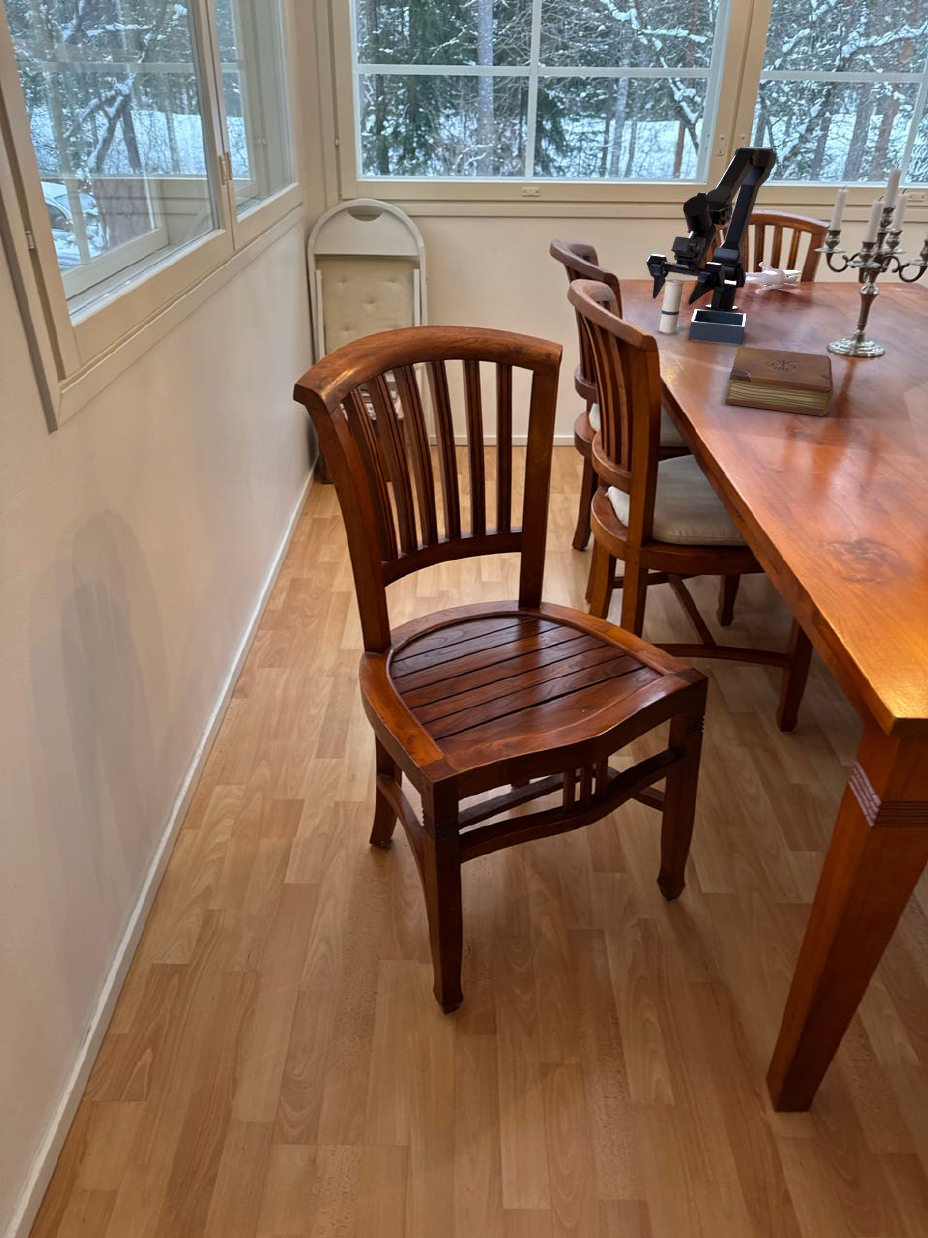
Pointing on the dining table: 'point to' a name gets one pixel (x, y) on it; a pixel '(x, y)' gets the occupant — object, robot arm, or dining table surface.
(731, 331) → the box
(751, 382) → the diary
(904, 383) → the dining table surface
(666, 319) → the light grey piece
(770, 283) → the figurine
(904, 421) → the dining table surface
